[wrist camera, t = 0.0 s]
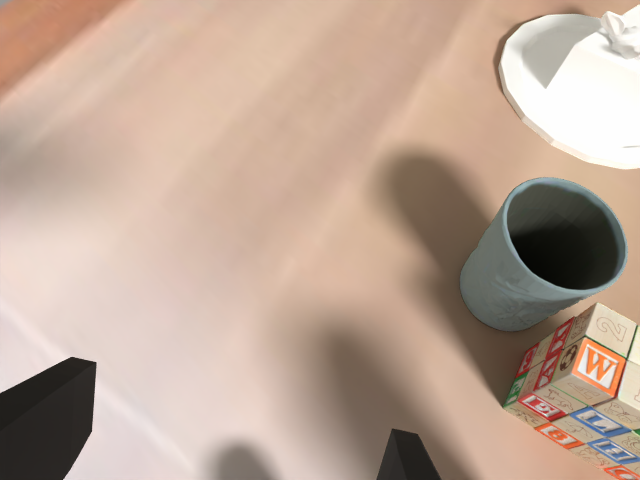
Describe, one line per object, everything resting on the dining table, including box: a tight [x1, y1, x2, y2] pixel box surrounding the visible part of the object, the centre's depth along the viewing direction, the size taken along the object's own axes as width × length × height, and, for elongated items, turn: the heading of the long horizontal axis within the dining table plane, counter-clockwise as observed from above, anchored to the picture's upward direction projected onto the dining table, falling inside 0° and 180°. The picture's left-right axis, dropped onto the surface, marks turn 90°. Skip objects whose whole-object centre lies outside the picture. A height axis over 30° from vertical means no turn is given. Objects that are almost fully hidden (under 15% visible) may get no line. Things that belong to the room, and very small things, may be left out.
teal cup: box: [460, 178, 628, 331], centre depth 46 cm, size 10×10×12 cm
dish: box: [498, 4, 640, 169], centre depth 62 cm, size 25×25×11 cm
